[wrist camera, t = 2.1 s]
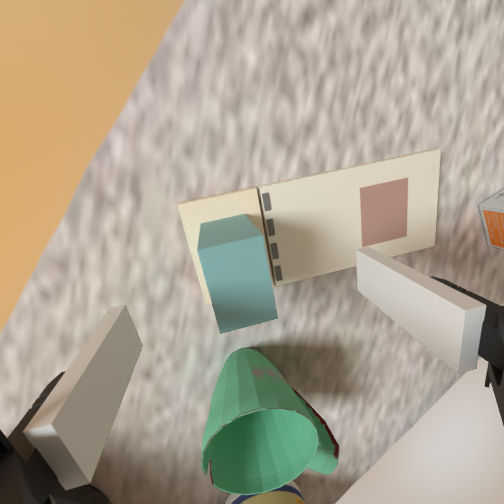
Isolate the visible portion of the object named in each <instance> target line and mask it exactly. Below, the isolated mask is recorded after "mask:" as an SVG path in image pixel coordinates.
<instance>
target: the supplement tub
mask: <svg viewBox="0 0 504 504" xmlns="http://www.w3.org/2000/svg"><path fill="white" fill-rule="evenodd" d="M225 504H305V502H304V499H303V495H302V493H301V491H300V489H299V487H298V485H297V484H296V483H295V482H294V481H293V480H292V481H290V482H289V483H287V484H285V485H283V486H282V487H280V488H277V489H274V490H271V491H268V492H265V493H260V494H253V495H238V494H230V495H229V496H228V498H227V500H226V502H225Z"/></svg>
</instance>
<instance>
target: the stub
mask: <svg viewBox="0 0 504 504" xmlns="http://www.w3.org/2000/svg"><path fill="white" fill-rule="evenodd" d="M177 206H178V209H179V213H180V216H181V219H182V223H183V226H184V230H185V233H186V237H187V240H188V244H189V247H190V251H191V254H192V258H193V261H194V264H195V268H196V271H197V275H198V278H199V282H200V285H201V289H202V292H203V296H204V299H205V303H206V305H207V304H211V303H212V305H213V309H214V313H215V316H216V320H217V323H218V327H219V330H220V334H222V333H225V332H229V331H233V330H237V329H240V328H244V327H248V326H252V325H255V324H259V323H263V322H267V321H270V320H274V319H278V316H277V310H276V305H275V299H274V294H273V288H274V284H273V278H272V272H271V267H270V261H269V256H268V250H267V244H266V239H265V233H264V228H263V222H262V216H261V211H260V205H259V199H258V194H257V188H255V187H251V188H247V189H242V190H237V191H232V192H228V193H223V194H218V195H213V196H209V197H204V198H199V199H194V200H190V201H185V202H180V203H178V205H177Z"/></svg>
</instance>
